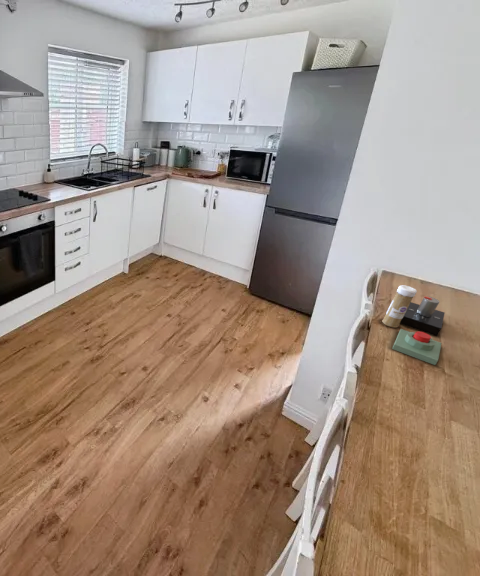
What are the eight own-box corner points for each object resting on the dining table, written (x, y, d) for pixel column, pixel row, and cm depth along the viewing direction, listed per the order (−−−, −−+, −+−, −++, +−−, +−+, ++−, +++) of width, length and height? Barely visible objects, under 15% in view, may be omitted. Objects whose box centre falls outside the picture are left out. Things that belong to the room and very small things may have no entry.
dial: (432, 314, 122) (440, 298, 119) (430, 318, 119) (439, 303, 116) (417, 309, 124) (425, 294, 121) (415, 313, 121) (423, 298, 119)
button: (427, 345, 105) (430, 340, 105) (412, 339, 108) (414, 334, 107) (428, 339, 108) (431, 335, 107) (413, 334, 110) (416, 329, 109)
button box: (435, 365, 102) (441, 355, 101) (392, 349, 108) (397, 339, 107) (438, 347, 110) (444, 337, 108) (398, 333, 116) (403, 323, 114)
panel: (436, 336, 115) (441, 328, 114) (398, 323, 121) (402, 315, 120) (440, 320, 124) (445, 312, 123) (404, 308, 130) (408, 300, 129)
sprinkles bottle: (390, 328, 118) (408, 291, 112) (378, 320, 122) (395, 284, 116) (402, 327, 119) (421, 291, 113) (389, 319, 123) (407, 284, 117)
